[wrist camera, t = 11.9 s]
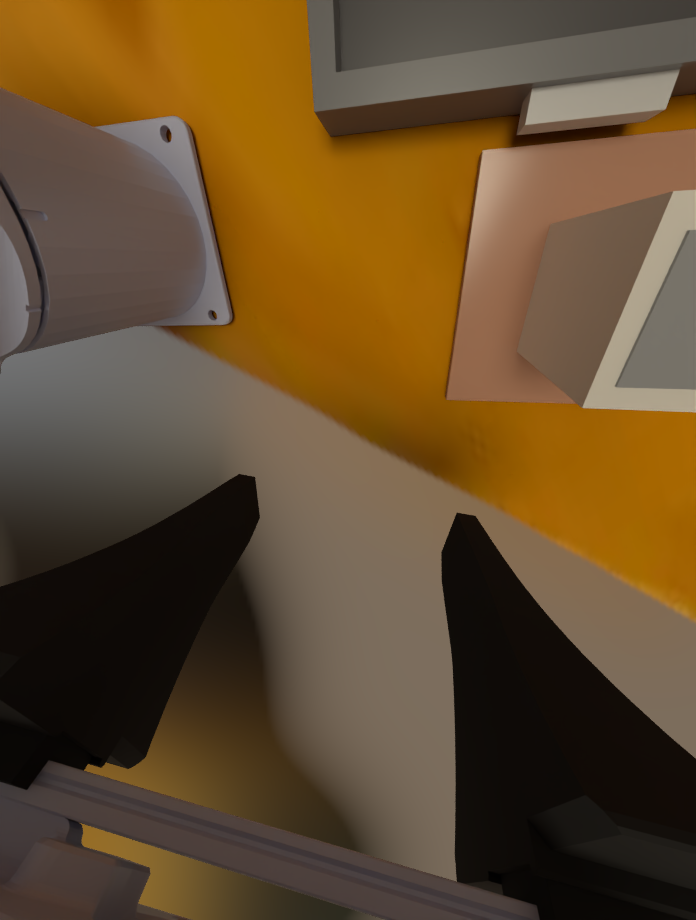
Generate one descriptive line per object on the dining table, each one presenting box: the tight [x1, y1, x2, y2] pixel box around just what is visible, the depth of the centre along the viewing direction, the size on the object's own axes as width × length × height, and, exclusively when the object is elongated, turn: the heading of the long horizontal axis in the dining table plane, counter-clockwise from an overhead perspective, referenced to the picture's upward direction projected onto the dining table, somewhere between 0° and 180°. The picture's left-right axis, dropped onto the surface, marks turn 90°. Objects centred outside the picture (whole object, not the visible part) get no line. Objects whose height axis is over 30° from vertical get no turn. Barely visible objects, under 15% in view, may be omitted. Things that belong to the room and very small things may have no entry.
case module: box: [517, 190, 696, 412], centre depth 10 cm, size 4×5×7 cm
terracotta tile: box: [445, 129, 696, 404], centre depth 14 cm, size 10×10×1 cm
